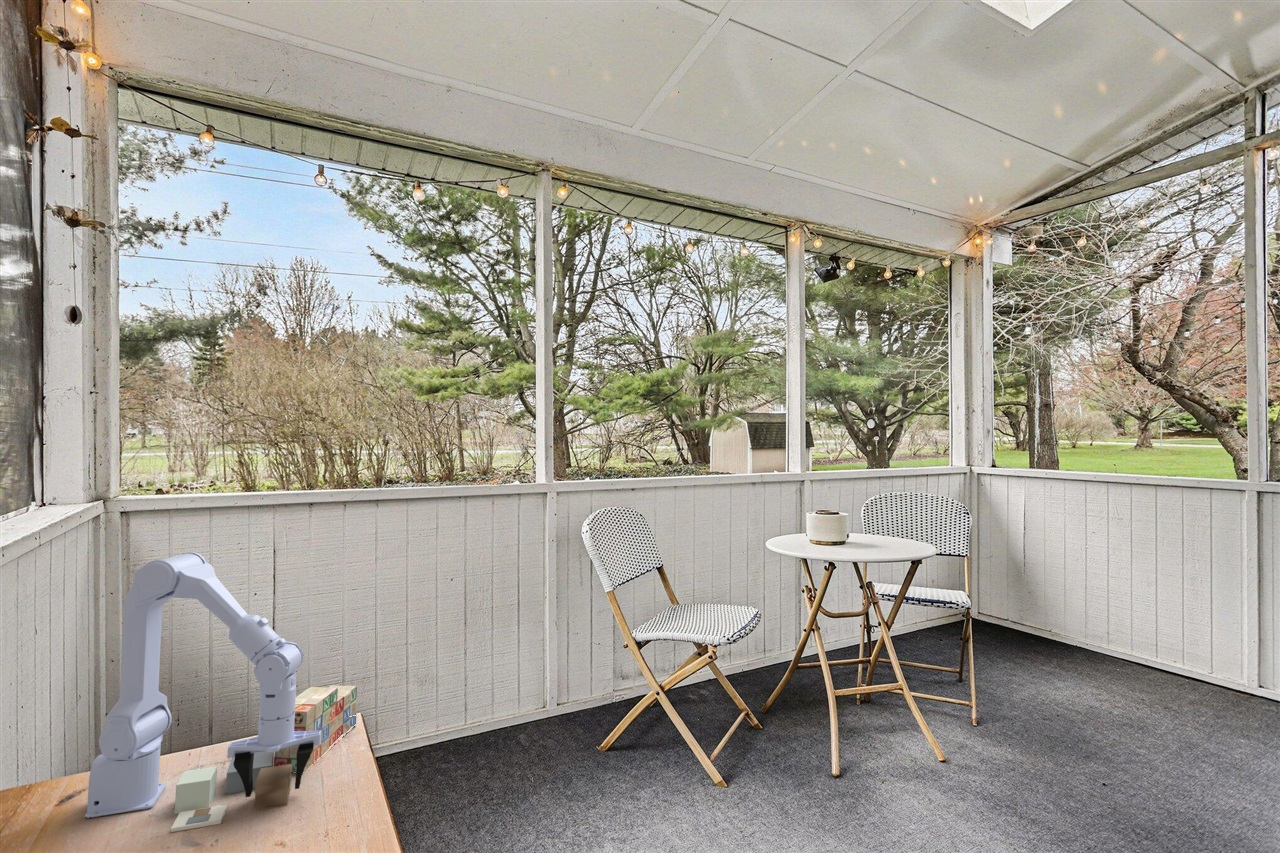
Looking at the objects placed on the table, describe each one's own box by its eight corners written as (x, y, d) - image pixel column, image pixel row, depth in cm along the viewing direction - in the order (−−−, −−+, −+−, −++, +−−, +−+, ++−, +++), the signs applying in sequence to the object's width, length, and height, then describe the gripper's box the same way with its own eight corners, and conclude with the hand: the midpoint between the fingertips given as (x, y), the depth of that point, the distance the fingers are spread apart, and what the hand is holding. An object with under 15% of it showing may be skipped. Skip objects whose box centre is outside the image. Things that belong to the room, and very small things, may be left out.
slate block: (225, 795, 114) (226, 773, 114) (231, 777, 120) (232, 756, 120) (269, 786, 117) (270, 765, 117) (273, 769, 123) (274, 749, 124)
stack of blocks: (329, 725, 143) (332, 671, 144) (356, 726, 143) (358, 672, 144) (272, 773, 122) (275, 709, 122) (303, 774, 122) (306, 710, 122)
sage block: (174, 814, 108) (176, 784, 108) (183, 799, 112) (184, 771, 112) (208, 808, 109) (210, 779, 110) (215, 794, 114) (217, 766, 114)
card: (170, 832, 102) (170, 827, 102) (179, 815, 107) (180, 811, 107) (220, 823, 105) (220, 819, 105) (227, 807, 110) (227, 803, 110)
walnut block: (254, 811, 109) (255, 782, 109) (259, 796, 114) (260, 768, 114) (286, 805, 111) (288, 777, 111) (290, 791, 116) (291, 763, 116)
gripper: (225, 729, 107) (221, 810, 106) (319, 717, 112) (316, 793, 111) (234, 712, 113) (230, 789, 112) (323, 702, 119) (320, 774, 118)
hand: (273, 790), depth 112 cm, fingers open, 7 cm apart
